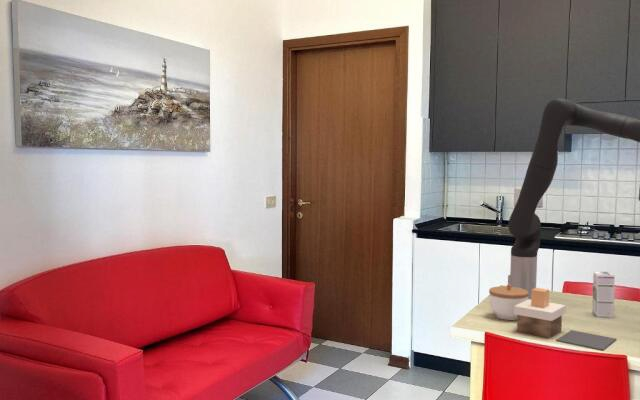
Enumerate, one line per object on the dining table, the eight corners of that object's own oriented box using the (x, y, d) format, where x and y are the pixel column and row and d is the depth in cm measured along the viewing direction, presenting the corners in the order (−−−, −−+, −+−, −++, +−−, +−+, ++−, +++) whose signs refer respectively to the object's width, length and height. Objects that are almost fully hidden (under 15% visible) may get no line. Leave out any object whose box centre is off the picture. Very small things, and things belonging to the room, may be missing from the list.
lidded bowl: (480, 314, 206) (481, 282, 206) (510, 310, 211) (511, 279, 210) (505, 324, 195) (506, 290, 194) (536, 320, 200) (537, 287, 199)
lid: (513, 314, 186) (514, 290, 186) (528, 306, 195) (529, 283, 194) (551, 321, 179) (552, 296, 178) (565, 313, 187) (566, 289, 187)
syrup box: (614, 317, 203) (616, 275, 202) (595, 316, 204) (597, 274, 203) (609, 313, 208) (611, 271, 207) (591, 312, 210) (593, 271, 208)
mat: (556, 341, 177) (556, 339, 177) (571, 331, 187) (571, 330, 187) (603, 350, 169) (603, 349, 169) (616, 339, 179) (616, 338, 179)
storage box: (516, 331, 187) (517, 309, 186) (529, 324, 194) (530, 303, 194) (549, 338, 180) (550, 315, 180) (561, 330, 188) (562, 308, 187)
